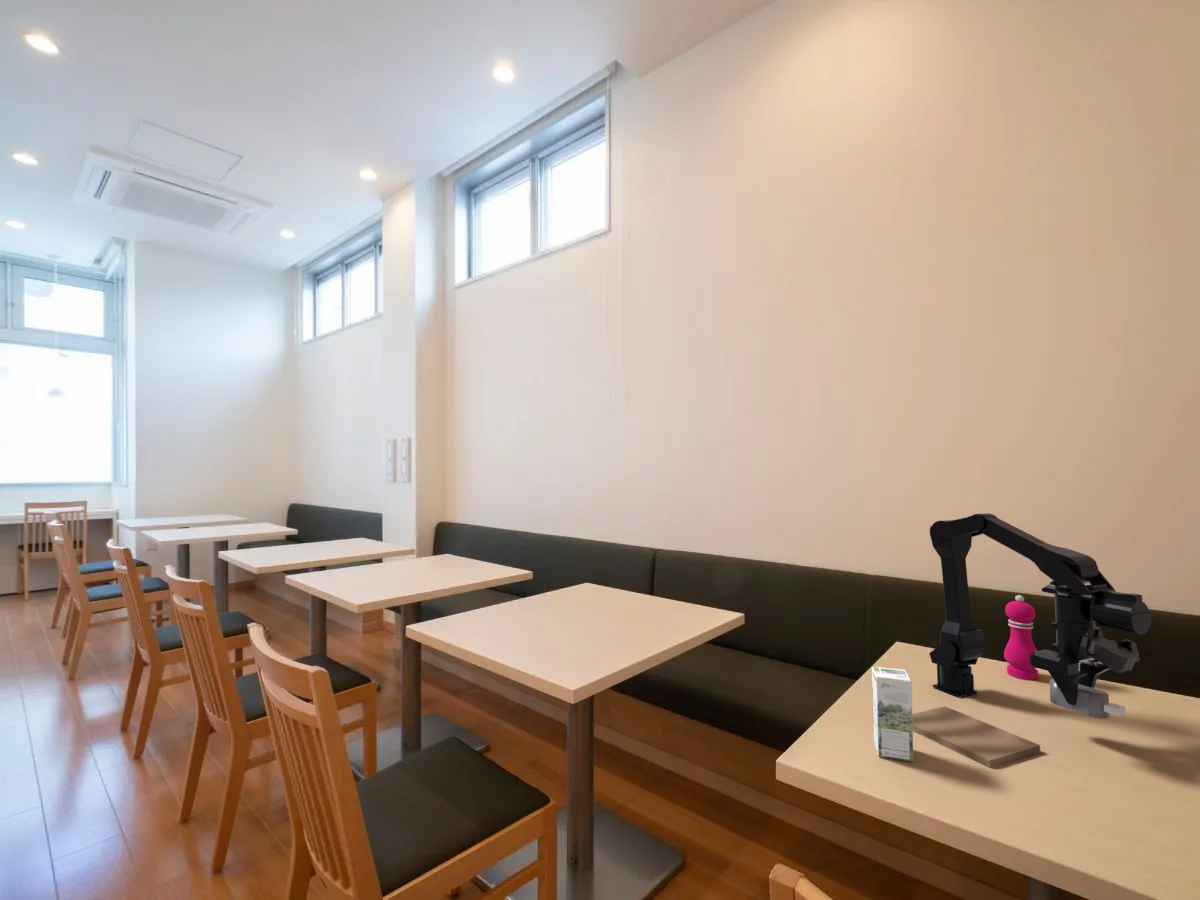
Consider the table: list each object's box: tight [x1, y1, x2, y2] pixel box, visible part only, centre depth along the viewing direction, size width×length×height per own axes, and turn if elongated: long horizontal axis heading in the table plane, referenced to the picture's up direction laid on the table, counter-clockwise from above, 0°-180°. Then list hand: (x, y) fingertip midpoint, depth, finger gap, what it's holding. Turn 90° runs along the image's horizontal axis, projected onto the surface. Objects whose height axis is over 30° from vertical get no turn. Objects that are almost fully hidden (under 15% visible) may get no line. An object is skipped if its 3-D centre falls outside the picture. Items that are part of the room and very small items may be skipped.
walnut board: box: [912, 706, 1041, 768], centre depth 104 cm, size 18×14×1 cm
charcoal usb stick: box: [1049, 678, 1126, 720], centre depth 102 cm, size 11×4×4 cm, turn 22°
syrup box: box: [871, 666, 914, 762], centre depth 99 cm, size 6×6×14 cm
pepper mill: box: [1003, 594, 1040, 681], centre depth 136 cm, size 7×7×20 cm
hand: (1078, 702), depth 103 cm, fingers closed on charcoal usb stick, 4 cm apart
